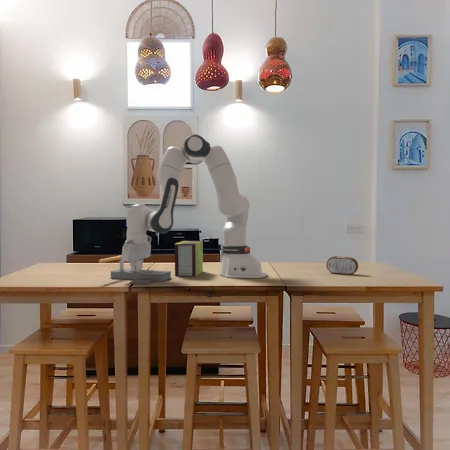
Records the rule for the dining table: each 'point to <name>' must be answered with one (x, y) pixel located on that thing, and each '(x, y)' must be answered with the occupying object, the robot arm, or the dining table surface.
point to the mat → (142, 281)
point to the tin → (342, 265)
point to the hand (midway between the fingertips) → (136, 269)
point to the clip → (110, 259)
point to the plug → (138, 266)
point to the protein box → (188, 258)
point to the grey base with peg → (140, 274)
